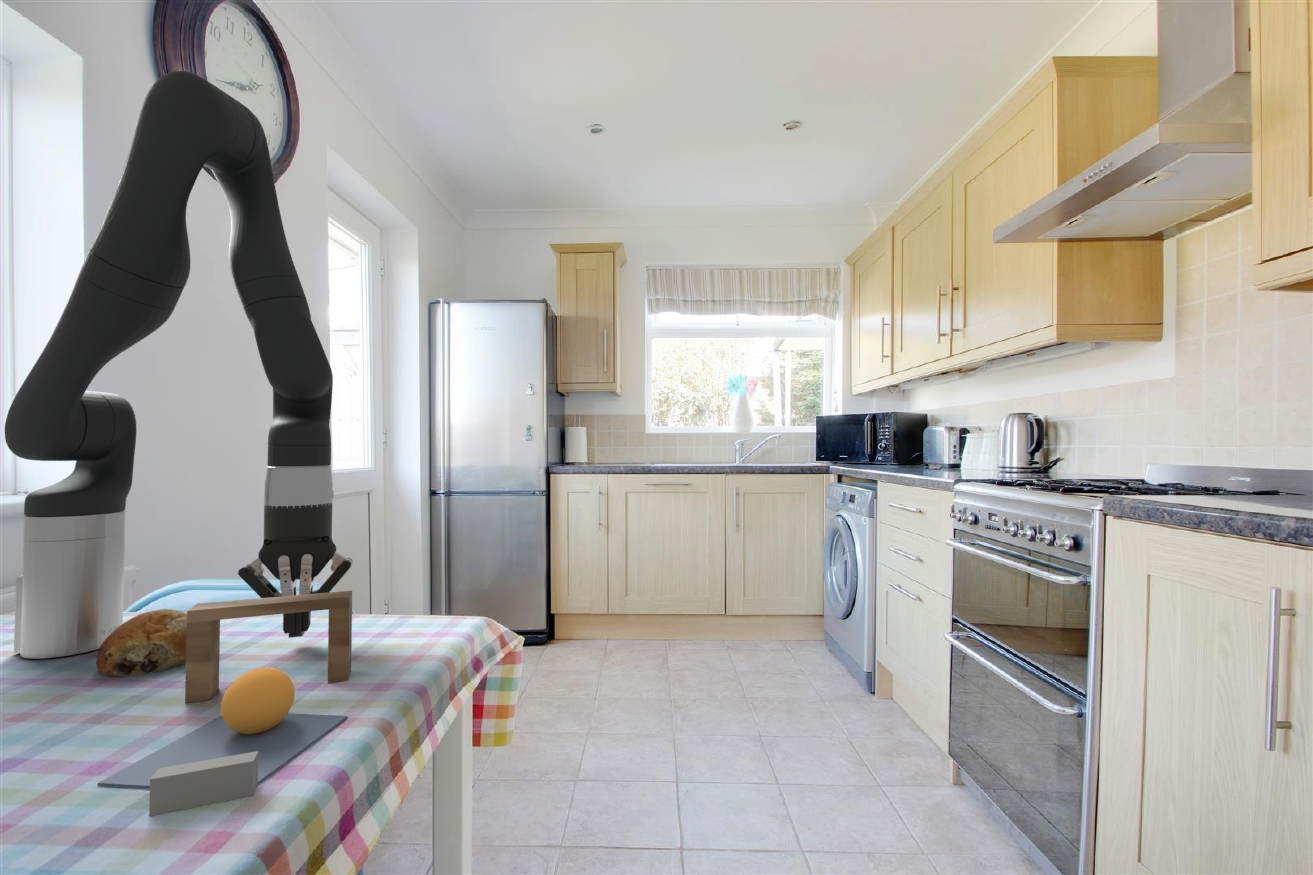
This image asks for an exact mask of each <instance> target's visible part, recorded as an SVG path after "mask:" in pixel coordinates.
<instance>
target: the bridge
mask: <svg viewBox="0 0 1313 875" xmlns="http://www.w3.org/2000/svg"><path fill="white" fill-rule="evenodd" d="M326 610H328V630H327V631H328V633H327V634H328V635H327V636H328V637H327V638H328V639H327V640H328V641H327V642H328V643H327V644H328V645H327V647H328V648H327V652H328V653H327V684H332V683H338V682H346V681H349V679H350V677H351V672H352V641H353V640H352V637H353V636H352V635H353V633H352V632H353V630H352V629H353V627H352V625H353V590H344V591H343V590H341V591H330V592H329V593H317V594H305V595H299V594H297V595H293V596H281V597H270V598H261V597H260V598H259V597H258V598H249V599H236V600H224V601H222V600H221V601H215V602H201V603H200V602H199V603H197V604H195V605H194V606H192V607H191V608H189V609H187V610H186V613H187V634H186V664H185V686H184V688H185V691H184V696H185V697H184V704H188V703H194V702H203V701H208V700H209V701H210V700H211V699H212V697H213V696H214V695H215V694H216V693H217V692H218V690H219V689H220V654H221V653H220V652H221V651H220V649H221V648H220V645H221V642H220V641H221V638H220V637H221V620H230V619H232V620H233V619H242V618H251V617H252V618H253V617H254V618H255V617H263V616H264V617H265V616H271V615H272V616H274V615H283V614H286V613H297V612H307V611H311V612H317V611H326Z"/></svg>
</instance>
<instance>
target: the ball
mask: <svg viewBox="0 0 1313 875" xmlns="http://www.w3.org/2000/svg"><path fill="white" fill-rule="evenodd" d="M295 691H296V689H295V685H294V682H293V680H292V678H291V677H290V676H289V675H288V674H287V673H286V672H284V671H283V670H281V669H278V668H275V667H267V666H265V667H257V668H253V669H251V670H248V671H246V672H244V673H243V674H241V675H239V676H238V677H237V678H235V680H234V681H233V682H231V684H230V685H229V686H228V687H227V689H226V691H225V693H224V694H223V697H222V699H221V703H220V714H221V715H222V718H223V720H224V722H225V724H226V725H227V726H228V727H229V728H230V729H232V730H233V731H236V732H238V733H242V734H257V733H261V732H264V731H266V730H269V729H270V728H272V727H274V726H275V725H277V724H278V723H279V722H280V721H282V720H283V719H284V717H285V716H286V715H287V714H288V713H289V712H290V711H291V709H292V707H293V704H294V701H295V695H296V692H295ZM221 715H220V716H221Z"/></svg>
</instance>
